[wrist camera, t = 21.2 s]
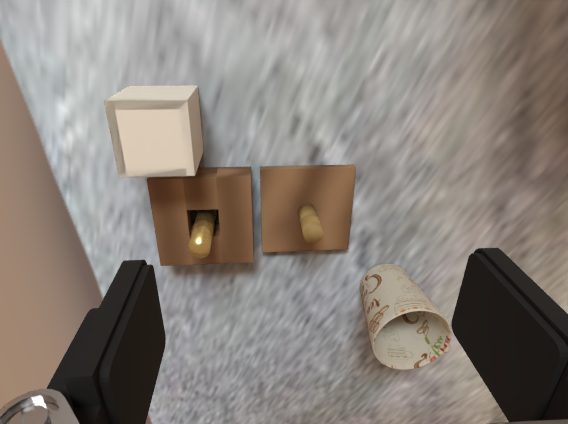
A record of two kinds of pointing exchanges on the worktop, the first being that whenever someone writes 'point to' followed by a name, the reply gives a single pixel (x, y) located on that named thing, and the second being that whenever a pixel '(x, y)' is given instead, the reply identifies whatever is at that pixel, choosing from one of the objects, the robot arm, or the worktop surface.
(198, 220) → the brass pin
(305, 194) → the tile
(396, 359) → the mug
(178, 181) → the socket tile
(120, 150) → the block
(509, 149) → the worktop surface
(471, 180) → the worktop surface
